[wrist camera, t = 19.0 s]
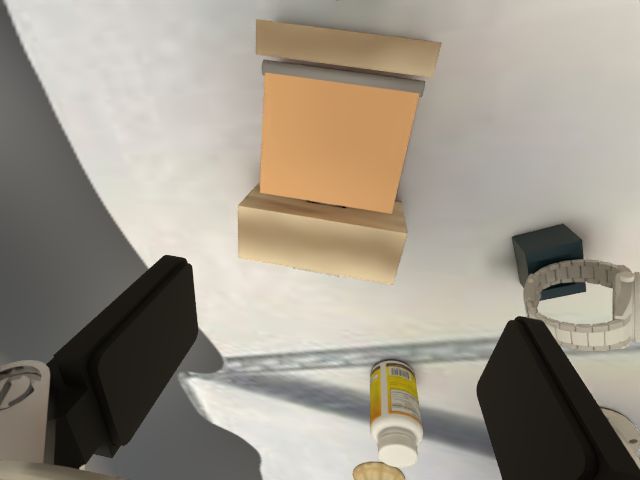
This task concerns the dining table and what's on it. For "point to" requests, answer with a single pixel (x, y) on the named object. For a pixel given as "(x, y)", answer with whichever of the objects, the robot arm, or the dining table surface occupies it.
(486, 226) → the dining table surface
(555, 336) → the watch
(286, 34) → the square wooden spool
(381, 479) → the hand bell
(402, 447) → the supplement bottle
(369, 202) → the flap
